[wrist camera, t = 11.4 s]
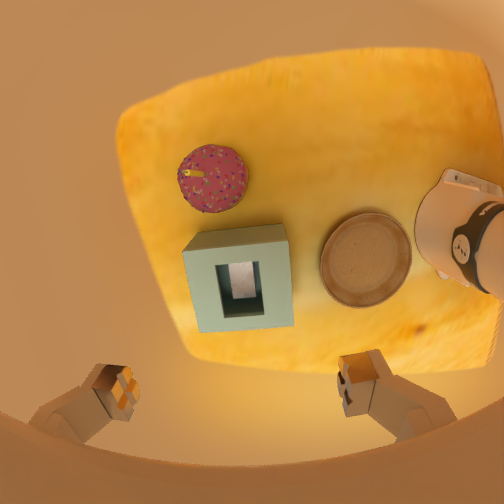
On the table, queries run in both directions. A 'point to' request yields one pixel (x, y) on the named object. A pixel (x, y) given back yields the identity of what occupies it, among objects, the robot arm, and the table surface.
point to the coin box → (219, 284)
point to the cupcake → (213, 178)
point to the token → (243, 279)
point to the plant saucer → (366, 260)
